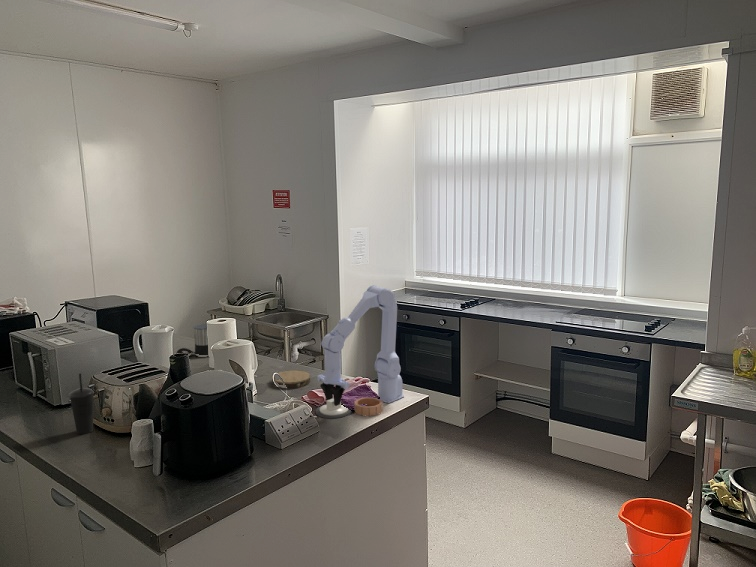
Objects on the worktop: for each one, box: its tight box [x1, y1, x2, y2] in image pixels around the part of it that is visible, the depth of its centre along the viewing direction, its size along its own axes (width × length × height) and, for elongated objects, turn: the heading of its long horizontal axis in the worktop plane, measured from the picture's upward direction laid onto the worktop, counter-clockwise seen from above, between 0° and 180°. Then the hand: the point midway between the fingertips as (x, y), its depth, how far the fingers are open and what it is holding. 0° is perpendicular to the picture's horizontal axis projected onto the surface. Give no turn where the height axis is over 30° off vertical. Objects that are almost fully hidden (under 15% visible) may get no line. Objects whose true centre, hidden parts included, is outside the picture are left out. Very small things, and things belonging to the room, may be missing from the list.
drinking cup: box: [68, 373, 95, 435], centre depth 192 cm, size 8×8×20 cm
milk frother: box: [176, 323, 208, 355], centre depth 281 cm, size 14×16×15 cm
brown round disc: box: [271, 369, 311, 390], centre depth 242 cm, size 16×16×3 cm
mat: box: [315, 405, 352, 419], centre depth 210 cm, size 13×13×1 cm
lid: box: [319, 397, 348, 416], centre depth 210 cm, size 10×10×4 cm
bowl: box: [353, 396, 384, 417], centre depth 210 cm, size 10×10×3 cm
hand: (333, 403), depth 210 cm, fingers open, 3 cm apart
